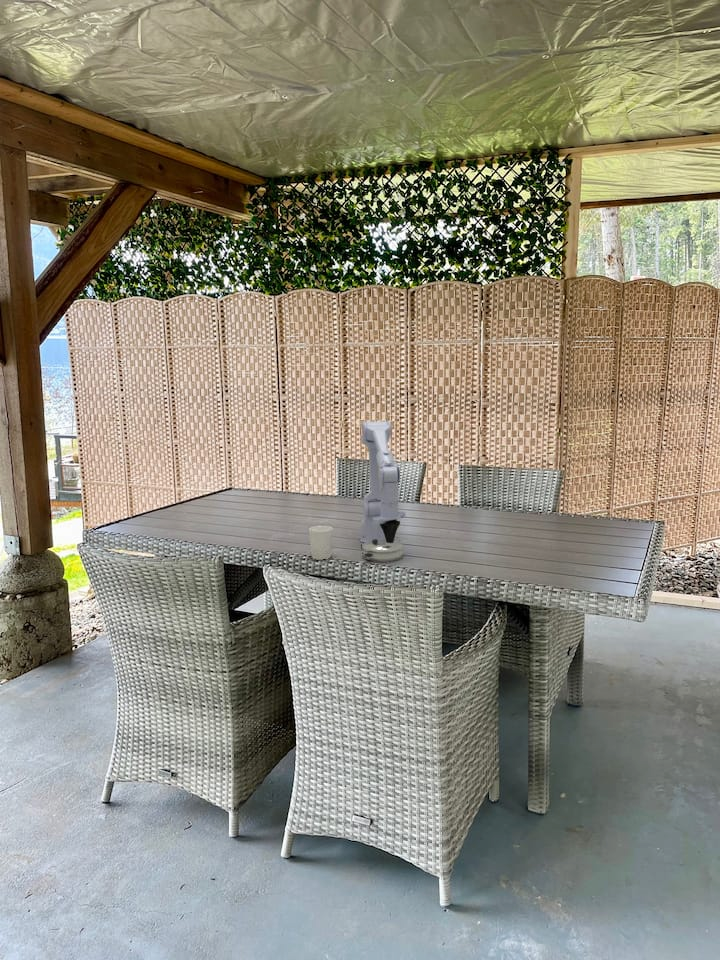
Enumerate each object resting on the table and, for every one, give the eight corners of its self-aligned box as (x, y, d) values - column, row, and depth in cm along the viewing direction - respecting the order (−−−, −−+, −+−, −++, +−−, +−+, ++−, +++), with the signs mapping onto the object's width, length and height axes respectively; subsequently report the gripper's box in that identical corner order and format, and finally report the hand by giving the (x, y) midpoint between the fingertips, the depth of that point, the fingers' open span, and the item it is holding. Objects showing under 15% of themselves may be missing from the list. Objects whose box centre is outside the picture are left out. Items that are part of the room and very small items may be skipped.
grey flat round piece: (348, 557, 231) (348, 548, 231) (379, 547, 243) (378, 539, 243) (382, 565, 222) (382, 556, 221) (412, 554, 233) (412, 545, 233)
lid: (354, 548, 231) (353, 542, 230) (380, 540, 241) (379, 534, 240) (385, 554, 222) (385, 548, 221) (411, 546, 232) (410, 539, 231)
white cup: (338, 556, 233) (337, 528, 231) (321, 561, 227) (321, 532, 226) (321, 552, 238) (320, 524, 237) (305, 557, 232) (304, 529, 231)
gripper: (384, 507, 219) (385, 549, 221) (412, 500, 229) (412, 539, 232) (367, 504, 223) (368, 545, 226) (395, 497, 234) (396, 536, 236)
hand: (389, 542), depth 229 cm, fingers closed
